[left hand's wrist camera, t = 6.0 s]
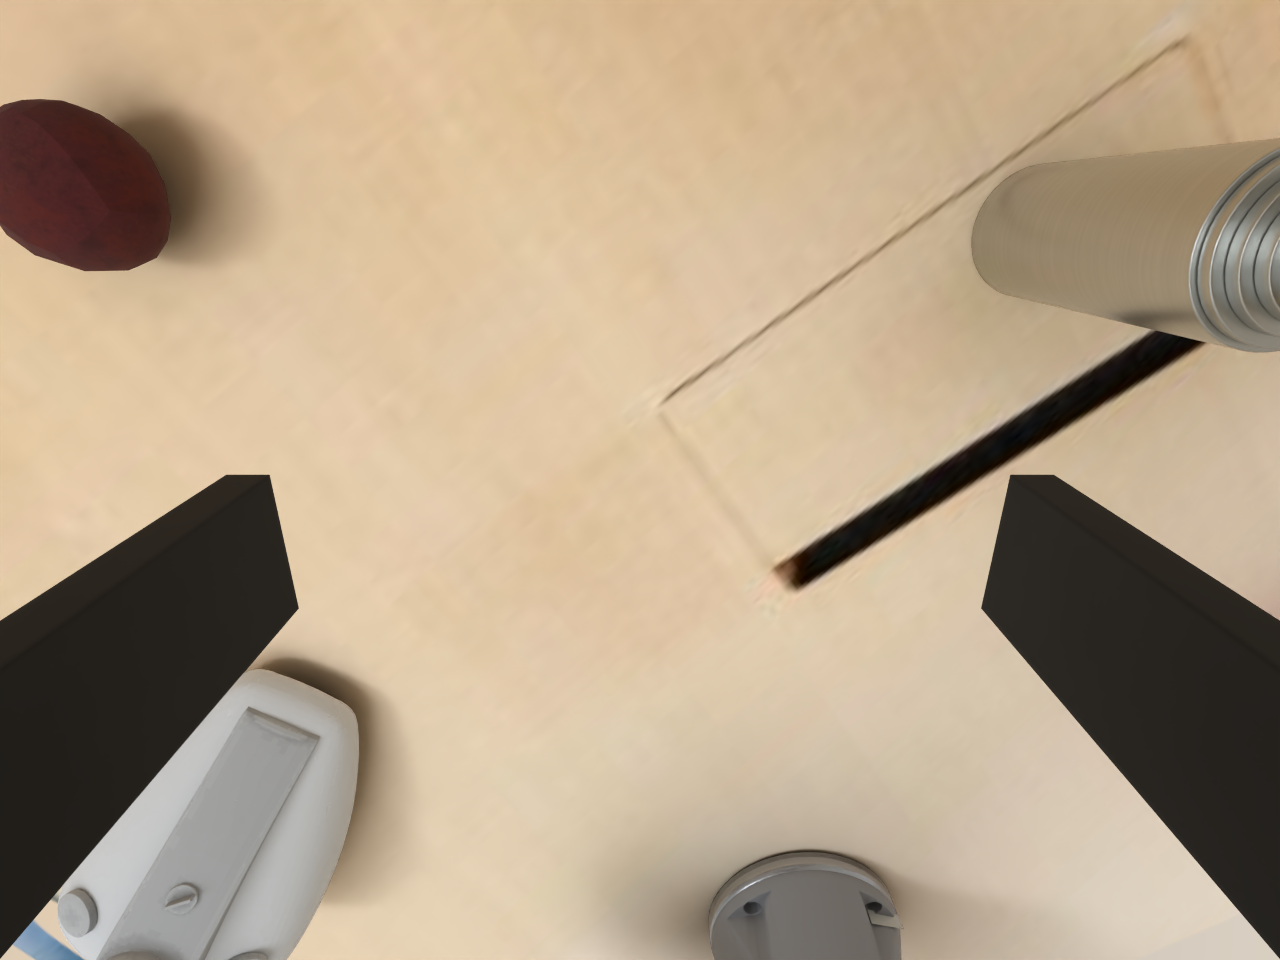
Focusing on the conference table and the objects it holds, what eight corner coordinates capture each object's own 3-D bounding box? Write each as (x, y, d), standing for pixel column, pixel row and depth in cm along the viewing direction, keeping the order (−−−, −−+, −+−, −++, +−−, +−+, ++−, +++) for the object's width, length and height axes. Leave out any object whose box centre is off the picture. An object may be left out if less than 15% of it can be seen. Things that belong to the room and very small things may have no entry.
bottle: (1011, 322, 38) (1404, 442, 19) (947, 226, 37) (1308, 249, 17) (1121, 237, 37) (1680, 273, 17) (1060, 133, 35) (1607, 36, 15)
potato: (117, 79, 34) (-8, 48, 27) (233, 217, 36) (143, 220, 30) (23, 169, 35) (-117, 160, 29) (139, 296, 38) (34, 315, 31)
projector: (454, 862, 54) (392, 1082, 40) (201, 921, 57) (63, 1146, 43) (325, 640, 46) (195, 819, 33) (38, 720, 49) (-194, 918, 35)
